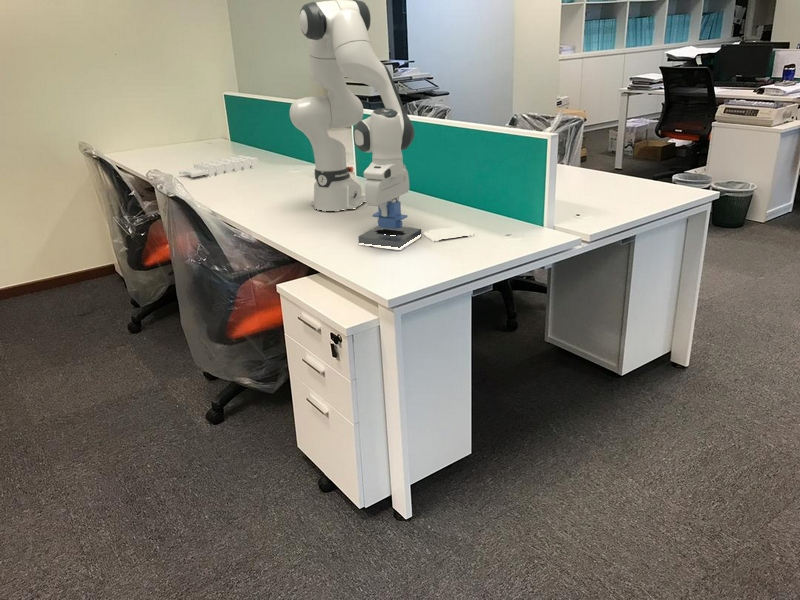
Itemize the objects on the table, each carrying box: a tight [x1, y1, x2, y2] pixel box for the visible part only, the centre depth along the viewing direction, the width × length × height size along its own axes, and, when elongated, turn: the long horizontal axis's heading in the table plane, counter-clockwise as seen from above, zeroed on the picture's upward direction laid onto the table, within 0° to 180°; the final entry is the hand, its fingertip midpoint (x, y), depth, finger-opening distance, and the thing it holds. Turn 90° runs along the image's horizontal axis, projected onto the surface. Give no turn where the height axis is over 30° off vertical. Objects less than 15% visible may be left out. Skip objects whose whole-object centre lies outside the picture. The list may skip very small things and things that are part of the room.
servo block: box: [371, 199, 408, 229], centre depth 186 cm, size 4×10×8 cm, turn 61°
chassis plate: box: [357, 225, 422, 248], centre depth 189 cm, size 14×14×3 cm
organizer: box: [178, 155, 259, 178], centre depth 294 cm, size 13×5×35 cm
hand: (389, 213), depth 186 cm, fingers closed on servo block, 4 cm apart
